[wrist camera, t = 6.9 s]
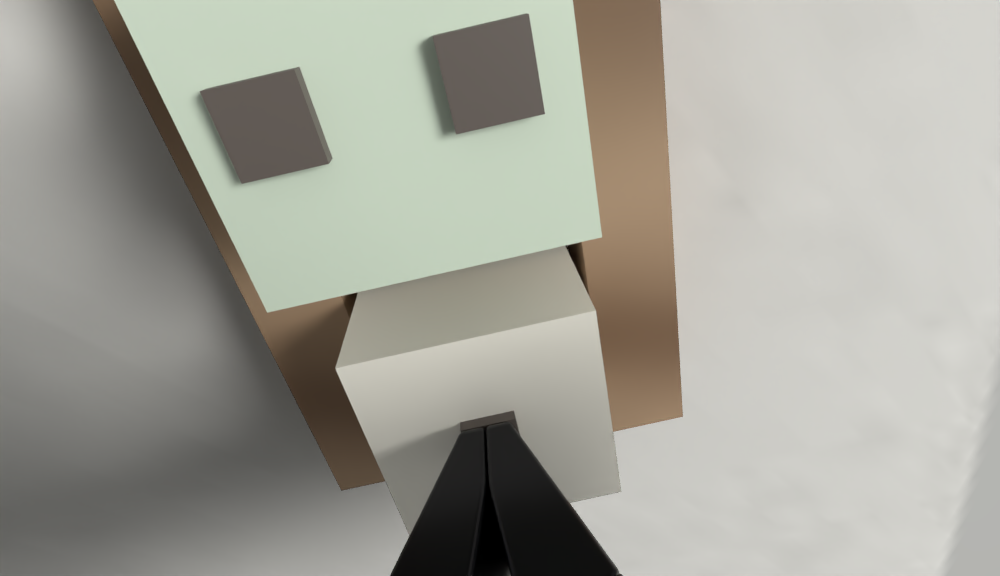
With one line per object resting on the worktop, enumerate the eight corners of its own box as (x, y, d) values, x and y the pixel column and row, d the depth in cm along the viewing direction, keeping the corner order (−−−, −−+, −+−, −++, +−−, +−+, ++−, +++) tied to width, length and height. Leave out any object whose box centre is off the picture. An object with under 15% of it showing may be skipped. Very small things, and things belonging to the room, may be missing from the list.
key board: (653, 364, 14) (682, 416, 12) (354, 429, 14) (341, 490, 12) (550, -862, 6) (593, -1222, 4) (-147, -674, 6) (-390, -948, 4)
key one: (575, 362, 13) (624, 500, 10) (419, 397, 14) (409, 546, 10) (551, 215, 12) (599, 317, 8) (368, 256, 12) (332, 376, 8)
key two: (546, 150, 10) (607, 244, 6) (331, 199, 10) (262, 322, 6) (502, -120, 8) (549, -222, 4) (235, -55, 8) (51, -99, 4)
